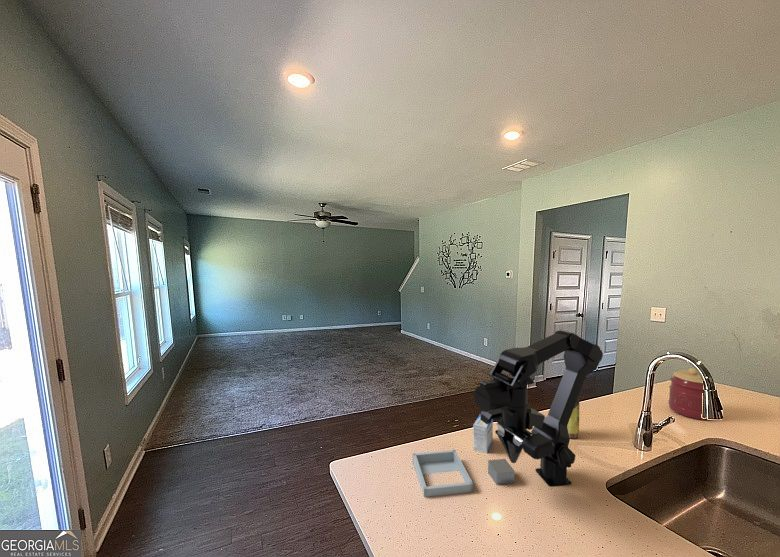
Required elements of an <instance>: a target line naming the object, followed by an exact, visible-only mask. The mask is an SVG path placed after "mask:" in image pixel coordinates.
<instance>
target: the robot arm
mask: <svg viewBox="0 0 780 557" xmlns="http://www.w3.org/2000/svg"><path fill="white" fill-rule="evenodd" d="M561 353H563V356H562V357H563V360H564V366H565V369H564V372H563V375H562V377H561V379H560V382H559V384H558V387H557V390H556V392H555V395H554V398H553V400H552V403H551V406H550V408H549V411H548V412H547V415H546V416H545V414H543V413H541V412H539V411H537V410H536V409H535V408H532V407H530V406H529V404H528V386H530V385H533V384H534V382H535V381H534V380H533V379H532V378H531V376H532V375H533V374H535V373H536V372H537V371H538V366H539V365H541V364H542V363H545V362H546V361H548V360H550V359H552V358H554V357H556V356H557V355H560V354H561ZM603 354H604V353H603V350H602V349H601V348H600V346H599V344H597V343H596V344H595V343H592V342H589V341H588V340H585V339H584V338H583V337H581V336H579V335H578V334H576V333H574V332H570V331H565V330H561V329H560V330H556V331H555V332H554V333H553V334H552V335H551V334H550V335H549V336H547V337H545V338H543V339H541V340H538V341H537V342H534V343H532V344H530V345H528V346H526V347H512V348H508V349H504V350H503V351H502V352H500V355H499V356H498V359H497V361H496V362H495V364H494V366H493V368H492V369H491V371H490V373H489V377H490V378H492V379H488V380H481V381H480V382H479V386H477V387H476V388H475V389H474V392H473V398H474V401H475V404H476V406H477V407H478V409H479V410H480V411H481V412H480V414H481V420H482V421H483V422H484V423H486V424H489V423H491V419H493V421H494V422H495V423H496V426H497V429H496V430H495V431H494V432H495V434H496V435H497V438H498V440H499V441H500V442H501V444H502V446H503V449H504V450H505V453H506V454H507V458H509V461H510V463H512V464H515V463H517V461H518V460H519V458H520V455H521V453H522V451H523V452H524V453H525V454H527V455H528V456H529V457H531V458H532V459H533V460H540V464H539V466H540V467H538V468H535V472H536V473H537V474H538V476H539V477H540V478H541V479H542V480H543V482H544V483H545V484H547V486H548V487H551V488H552V487H561V486H570V485H572V481H571V480H570V479H569V478H568V477H567V472H568V468H569V469H570V468H572V465H574V463H575V461H576V456H577V455H576V454H575V453H574V452H573V451H572V450H571V449H570V447H569V444H570V439H571V438H569V433H568V429H567V425H568V422H569V420H570V417H571V414H572V412H573V409H574V406H575V404H576V401H577V398H578V399H579V396H580V395H579V394H580V393H581V390H582V387H583V385H584V382H585V380H586V377H587V376H589V375H590V374H592V373H593V372H594V371H596V370H597V368H598V366H599V364H600V362H601V361H602V359H603ZM503 372H504V373H505V374H504V373H503ZM506 374H507V375H506ZM508 375H509V376H508Z"/></svg>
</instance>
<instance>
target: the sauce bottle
mask: <svg viewBox="0 0 780 557" xmlns="http://www.w3.org/2000/svg"><path fill="white" fill-rule="evenodd" d="M567 429H568V433H569V438H570V439H573V438H574V439H577V438H578V437H579V432H580V400H579V397H578V398H577V401H576V404H575V406H574V409H573V412H572V414H571V417H570V420H569V422H568V425H567Z"/></svg>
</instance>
